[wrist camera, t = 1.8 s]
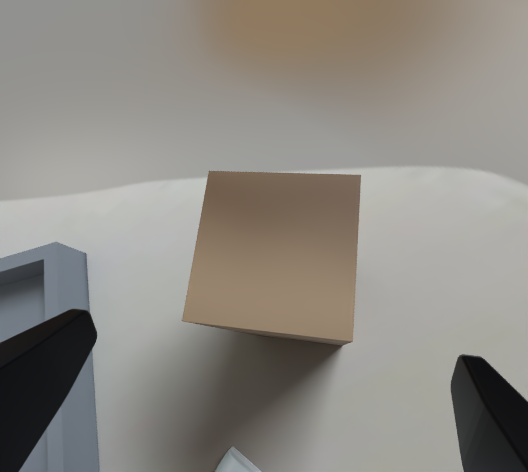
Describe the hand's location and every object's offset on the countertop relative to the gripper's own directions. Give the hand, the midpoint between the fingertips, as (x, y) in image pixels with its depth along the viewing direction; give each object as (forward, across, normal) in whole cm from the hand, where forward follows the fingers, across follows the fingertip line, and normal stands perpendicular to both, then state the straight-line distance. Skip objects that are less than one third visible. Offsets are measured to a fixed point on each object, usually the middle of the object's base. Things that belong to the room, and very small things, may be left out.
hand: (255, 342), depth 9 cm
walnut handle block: (+9, 0, +6) cm, 11 cm away
